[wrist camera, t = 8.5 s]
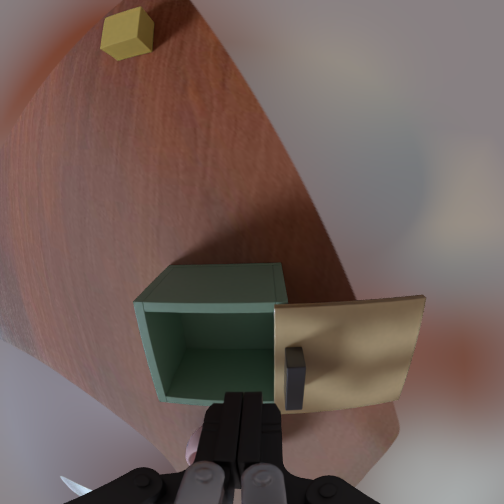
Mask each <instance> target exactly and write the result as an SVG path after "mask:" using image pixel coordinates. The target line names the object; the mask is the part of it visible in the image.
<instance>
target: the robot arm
mask: <svg viewBox="0 0 504 504" xmlns="http://www.w3.org/2000/svg"><path fill="white" fill-rule="evenodd" d="M235 489H241V498H242V504H380V503H378V502H377V501H375V500H373V499H372V498H370V497H368V496H367V495H365V494H364V493H362V492H361V491H359V490H358V489H356V488H355V487H353V486H352V485H350V484H349V483H347V482H346V481H344V480H343V479H341V478H339V477H336V476H330V475H328V476H321V477H318V478H316V479H315V480H311V479H305V478H300V477H296V476H294V475H292V474H290V473H289V472H288V471H287V470H286V469H285V467H284V465H283V457H282V429H281V411H280V410H279V408H278V407H277V405H276V404H275V403H263V394H262V391H257V392H228V391H226V392H225V396H224V402H223V403H213V404H212V405H211V406H210V407H209V408H208V410H207V411H206V414H205V418H204V423H203V426H202V431H201V435H200V439H199V443H198V448H197V452H196V456H195V460H194V462H193V464H191V465H190V466H189V467H188V468H187V469H186V470H184V471H181V472H178V473H171V474H162V475H159V473H157V472H156V471H155V470H153V469H150V468H146V467H141V468H136V469H134V470H132V471H130V472H128V473H126V474H125V475H123V476H121V477H119V478H117V479H115V480H113V481H111V482H110V483H108V484H105V485H103V486H101V487H99V488H97V489H95V490H93V491H91V492H89V493H87V494H85V495H82V496H80V497H78V498H76V499H73V500H71V501H69V502H67V503H64V504H233V499H234V490H235Z"/></svg>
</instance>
